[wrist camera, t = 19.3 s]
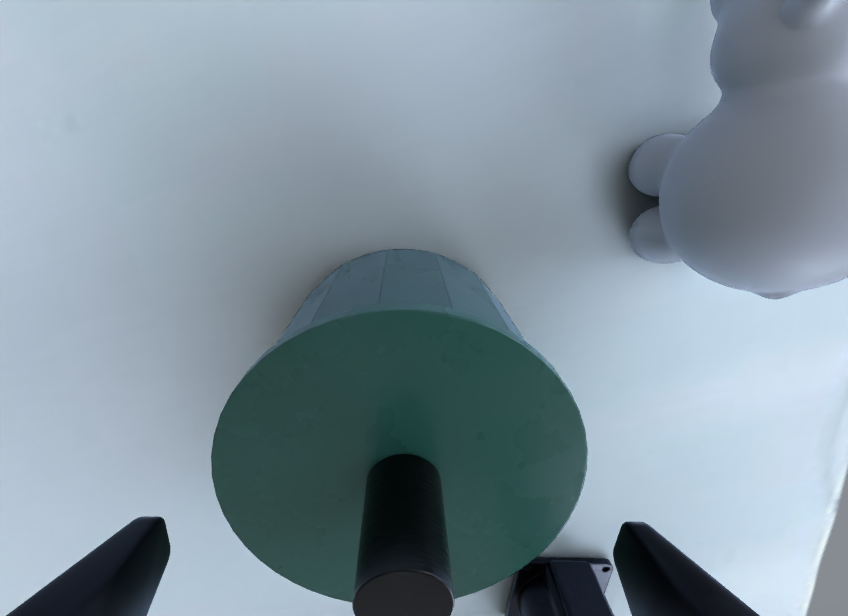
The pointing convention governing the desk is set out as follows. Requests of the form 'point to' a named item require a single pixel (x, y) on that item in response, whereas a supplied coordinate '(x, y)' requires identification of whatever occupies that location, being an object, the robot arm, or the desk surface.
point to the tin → (401, 287)
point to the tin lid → (399, 457)
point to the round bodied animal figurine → (758, 156)
